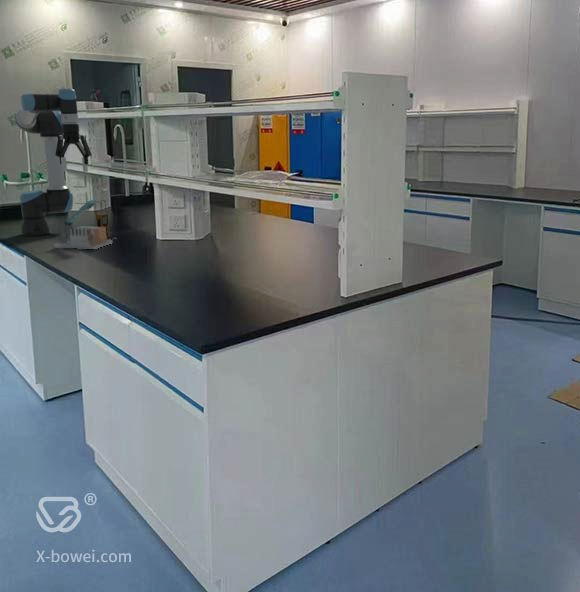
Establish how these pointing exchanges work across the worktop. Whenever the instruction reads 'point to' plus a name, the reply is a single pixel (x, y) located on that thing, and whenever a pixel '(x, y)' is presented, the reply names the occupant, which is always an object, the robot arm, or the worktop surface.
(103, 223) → the multimeter
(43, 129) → the robot arm
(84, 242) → the heatsink base
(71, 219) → the lever
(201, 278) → the worktop surface
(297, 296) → the worktop surface
